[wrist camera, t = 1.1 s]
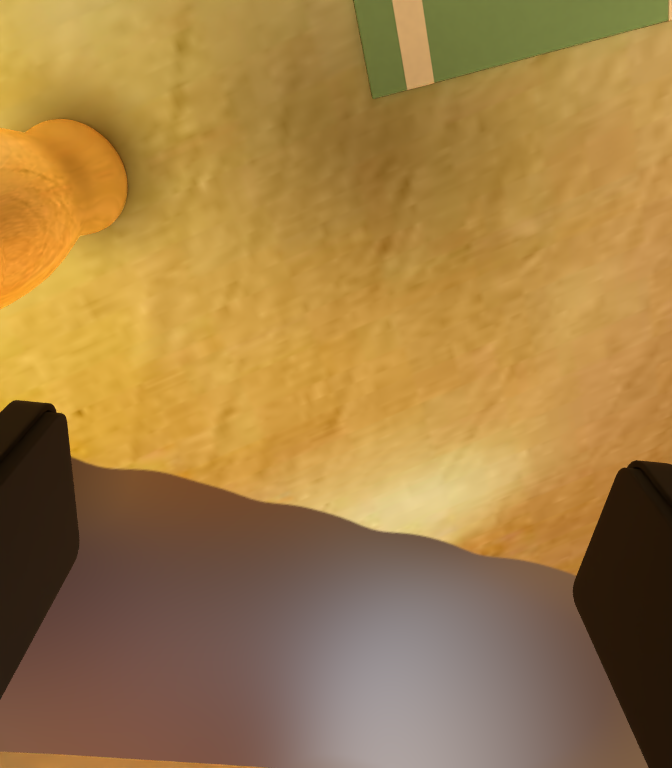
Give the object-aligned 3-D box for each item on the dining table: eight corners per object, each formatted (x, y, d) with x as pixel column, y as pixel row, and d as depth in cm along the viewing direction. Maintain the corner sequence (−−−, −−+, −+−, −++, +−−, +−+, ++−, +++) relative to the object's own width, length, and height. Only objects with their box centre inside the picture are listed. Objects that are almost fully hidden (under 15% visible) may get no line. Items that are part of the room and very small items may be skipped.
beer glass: (116, 101, 32) (-44, 120, 18) (150, 233, 35) (34, 331, 22) (-11, 118, 32) (-258, 149, 19) (34, 247, 35) (-151, 352, 22)
